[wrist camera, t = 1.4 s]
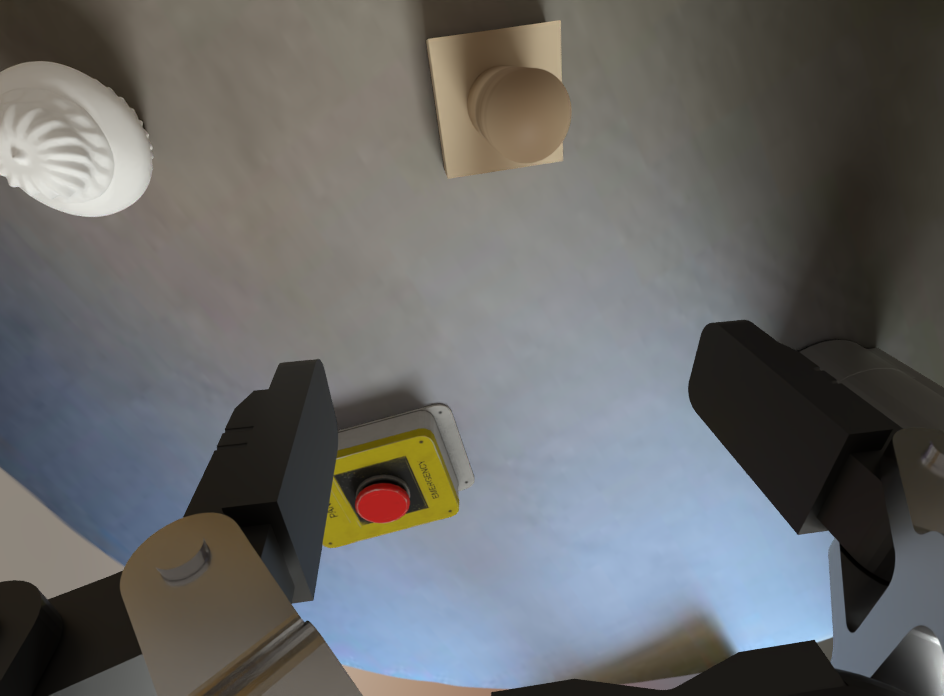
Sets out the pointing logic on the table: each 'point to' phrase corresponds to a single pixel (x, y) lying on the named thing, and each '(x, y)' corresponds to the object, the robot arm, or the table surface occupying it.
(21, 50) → the table surface
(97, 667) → the robot arm
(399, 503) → the emergency button
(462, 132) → the stamp
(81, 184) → the white rounded piece
